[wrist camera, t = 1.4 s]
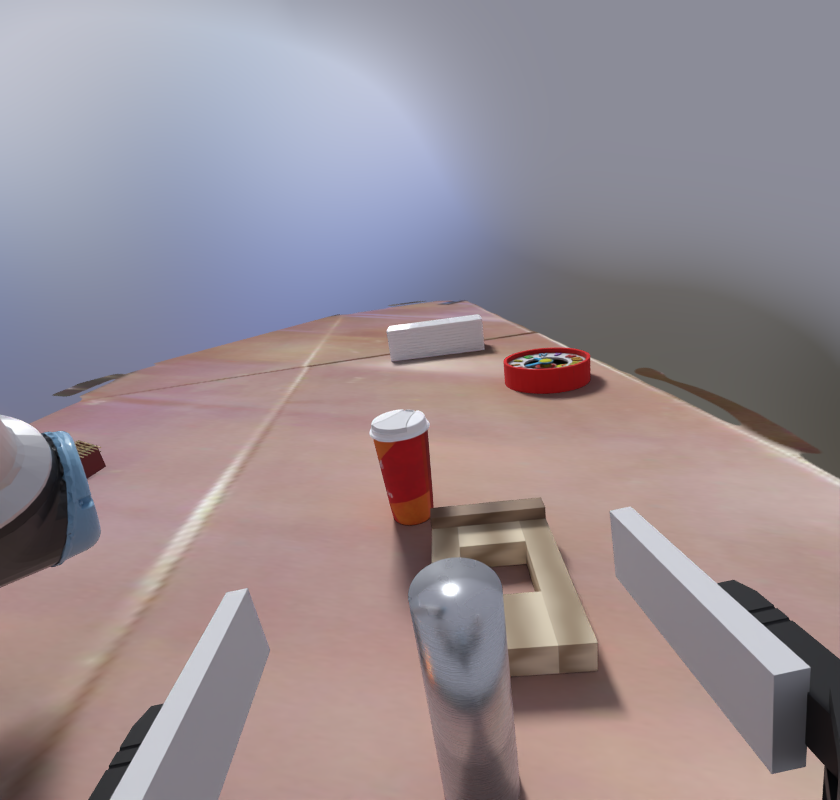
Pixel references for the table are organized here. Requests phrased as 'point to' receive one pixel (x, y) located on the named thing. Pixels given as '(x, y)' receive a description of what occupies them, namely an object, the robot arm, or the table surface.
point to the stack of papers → (436, 338)
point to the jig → (554, 591)
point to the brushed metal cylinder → (467, 677)
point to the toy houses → (89, 457)
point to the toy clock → (547, 370)
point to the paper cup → (405, 463)
